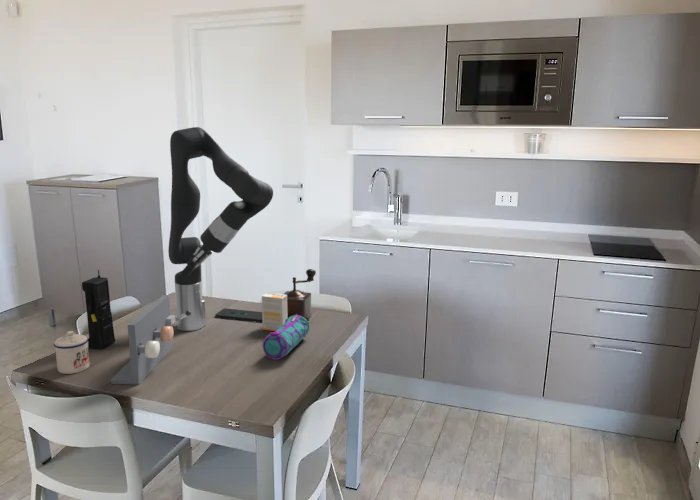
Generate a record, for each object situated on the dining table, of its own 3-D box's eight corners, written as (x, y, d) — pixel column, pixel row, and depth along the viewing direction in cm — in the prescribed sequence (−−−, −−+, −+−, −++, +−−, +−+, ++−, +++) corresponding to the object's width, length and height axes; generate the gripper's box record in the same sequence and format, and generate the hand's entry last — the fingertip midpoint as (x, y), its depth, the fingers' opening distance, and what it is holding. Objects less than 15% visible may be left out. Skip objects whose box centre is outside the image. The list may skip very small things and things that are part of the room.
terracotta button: (173, 338, 168) (173, 323, 167) (168, 344, 163) (167, 329, 162) (151, 337, 168) (150, 323, 167) (145, 344, 163) (144, 329, 162)
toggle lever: (192, 313, 176) (189, 308, 176) (191, 315, 175) (188, 310, 174) (177, 321, 177) (174, 316, 177) (175, 323, 175) (172, 318, 175)
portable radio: (101, 351, 176) (95, 277, 170) (85, 349, 177) (78, 275, 171) (116, 341, 183) (110, 270, 178) (100, 340, 185) (94, 269, 179)
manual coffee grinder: (305, 324, 202) (305, 278, 198) (277, 321, 205) (276, 276, 201) (317, 311, 217) (317, 268, 213) (291, 308, 220) (291, 266, 216)
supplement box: (288, 328, 198) (288, 294, 195) (282, 333, 194) (282, 298, 191) (268, 325, 201) (267, 291, 198) (262, 329, 197) (261, 295, 194)
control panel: (176, 346, 180) (173, 295, 176) (144, 384, 154) (140, 325, 150) (148, 346, 181) (144, 294, 177) (111, 383, 154) (106, 324, 150)
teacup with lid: (78, 375, 159) (74, 338, 156) (50, 373, 160) (45, 336, 157) (102, 358, 170) (98, 323, 168) (75, 356, 171) (71, 322, 169)
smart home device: (224, 307, 216) (271, 312, 211) (224, 311, 216) (271, 316, 212) (214, 314, 208) (263, 319, 203) (214, 318, 208) (263, 323, 204)
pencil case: (286, 336, 192) (285, 310, 189) (309, 339, 189) (309, 313, 187) (261, 360, 172) (260, 331, 170) (287, 363, 170) (287, 334, 168)
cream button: (160, 353, 157) (159, 338, 156) (153, 360, 152) (152, 344, 151) (136, 353, 157) (135, 337, 156) (129, 360, 152) (128, 344, 151)
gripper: (217, 220, 163) (182, 260, 167) (202, 229, 150) (165, 272, 154) (236, 236, 164) (201, 276, 168) (223, 247, 151) (185, 289, 155)
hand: (184, 274), depth 161 cm, fingers closed
